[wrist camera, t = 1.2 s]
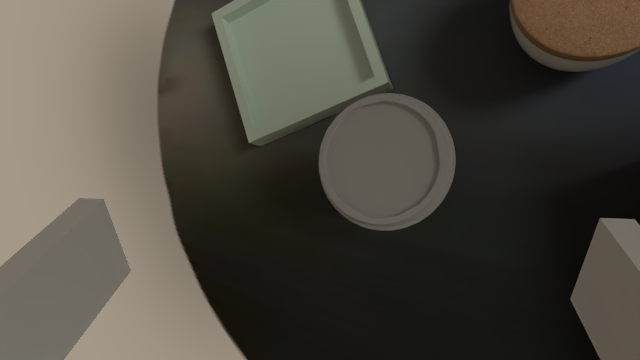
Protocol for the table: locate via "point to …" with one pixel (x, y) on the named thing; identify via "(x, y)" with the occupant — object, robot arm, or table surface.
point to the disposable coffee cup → (387, 161)
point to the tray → (297, 61)
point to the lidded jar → (577, 31)
